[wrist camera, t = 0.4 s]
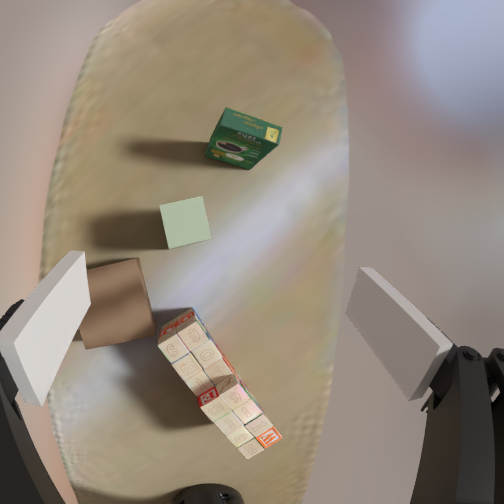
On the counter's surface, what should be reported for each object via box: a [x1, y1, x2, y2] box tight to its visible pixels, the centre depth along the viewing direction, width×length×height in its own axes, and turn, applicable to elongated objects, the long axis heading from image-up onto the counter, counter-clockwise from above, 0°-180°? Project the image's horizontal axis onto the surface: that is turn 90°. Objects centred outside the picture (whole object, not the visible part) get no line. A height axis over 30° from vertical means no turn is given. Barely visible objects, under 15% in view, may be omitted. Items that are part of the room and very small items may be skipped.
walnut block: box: [79, 258, 156, 349], centre depth 39 cm, size 11×11×5 cm
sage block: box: [160, 196, 212, 249], centre depth 39 cm, size 5×5×12 cm
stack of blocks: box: [158, 308, 282, 459], centre depth 40 cm, size 21×6×12 cm, turn 31°
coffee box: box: [205, 107, 282, 170], centre depth 40 cm, size 8×3×13 cm, turn 76°
